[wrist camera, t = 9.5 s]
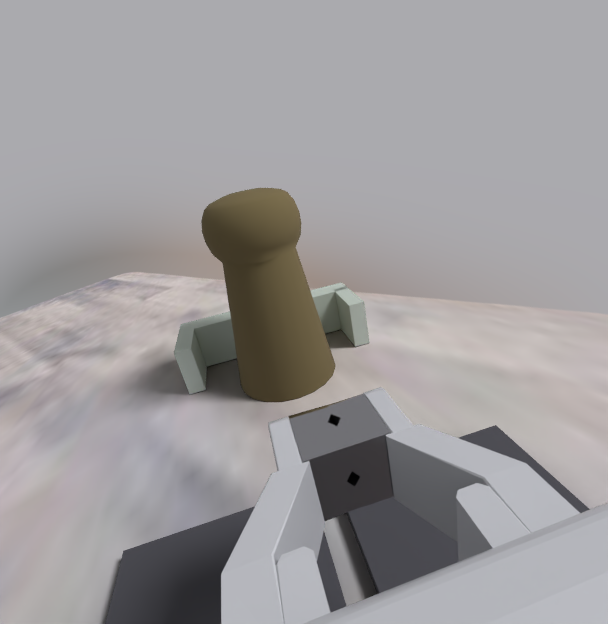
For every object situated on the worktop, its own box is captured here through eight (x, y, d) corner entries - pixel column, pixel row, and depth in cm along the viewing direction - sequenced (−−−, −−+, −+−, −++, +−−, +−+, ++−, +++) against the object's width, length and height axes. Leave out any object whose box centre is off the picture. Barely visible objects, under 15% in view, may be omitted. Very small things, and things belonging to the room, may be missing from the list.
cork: (265, 417, 19) (204, 205, 15) (227, 372, 24) (173, 204, 20) (355, 369, 21) (324, 176, 17) (304, 338, 26) (270, 182, 22)
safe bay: (189, 394, 22) (173, 353, 21) (194, 360, 26) (180, 324, 25) (369, 342, 24) (363, 301, 23) (347, 318, 28) (341, 282, 27)
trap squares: (43, 931, 7) (29, 925, 6) (128, 559, 13) (123, 551, 13) (702, 626, 9) (706, 614, 8) (495, 434, 15) (495, 425, 15)
